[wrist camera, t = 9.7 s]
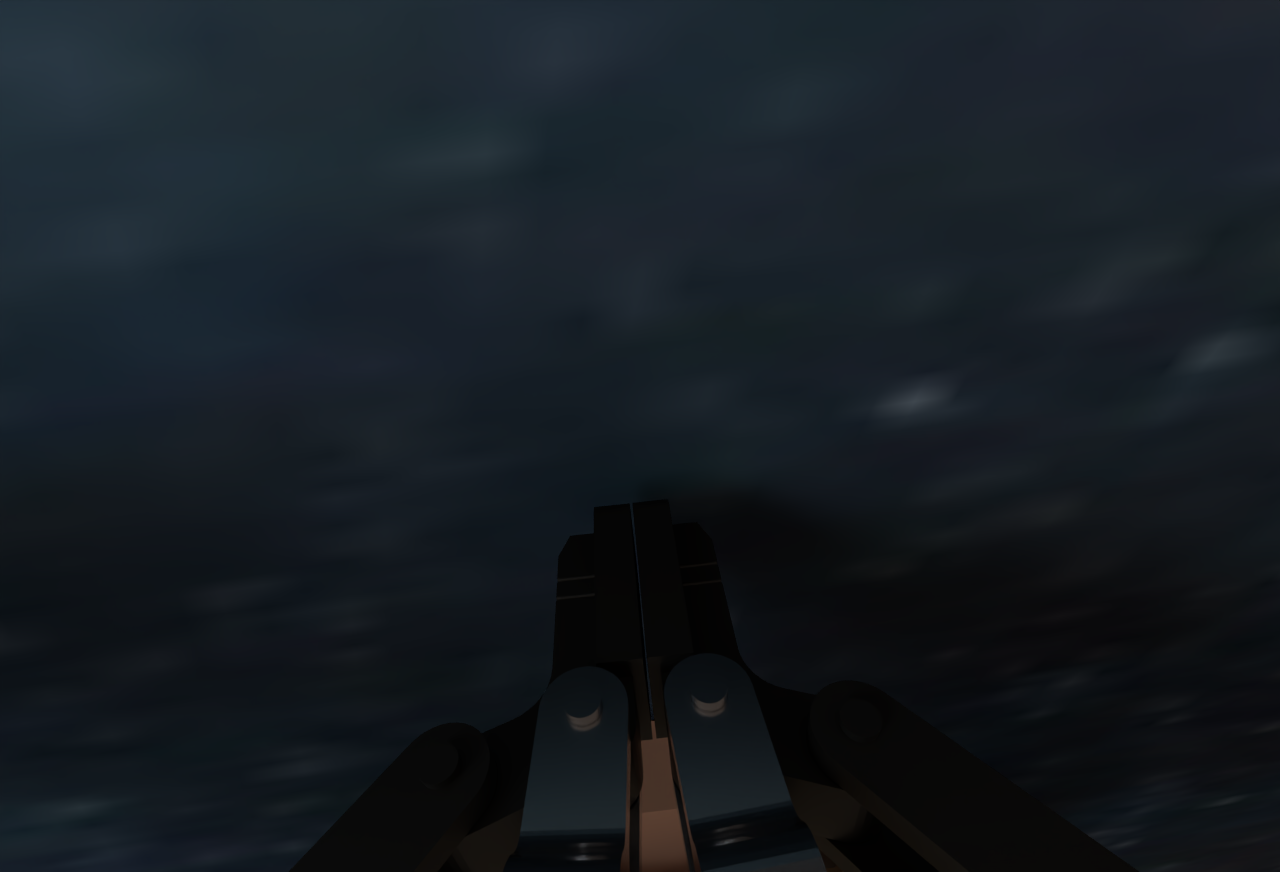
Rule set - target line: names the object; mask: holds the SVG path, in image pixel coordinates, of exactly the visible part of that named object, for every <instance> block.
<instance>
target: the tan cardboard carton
mask: <svg viewBox="0 0 1280 872" xmlns="http://www.w3.org/2000/svg"><path fill="white" fill-rule="evenodd" d="M651 726H652V737H653V739H652V740H643V741H641V748H642V761H643V783H642V872H689V871H688V866H687V861H686V855H685V850H684V844H683V839H682V833H681V828H680V823H679V817H678V812H677V806H676V801H675V796H674V790H673V782H672V772H671V764H670V755H669V746H668V737H667V738H658V739H657V738H656V730H655V721H651Z"/></svg>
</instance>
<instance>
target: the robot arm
mask: <svg viewBox="0 0 1280 872" xmlns="http://www.w3.org/2000/svg"><path fill="white" fill-rule="evenodd" d="M633 513H634V524H635V534H636V545H637V556H638V566H639V577H640V588H641V598H642V609H643V620H644V630H645V641H646V652H647V662H648V670H649V679H650V687H651V696H652V704H653V713H654V721H655V730H656V738H657V739H658V738H667V737H668V746H669V755H670V764H671V772H672V782H673V790H674V796H675V801H676V806H677V812H678V817H679V823H680V828H681V833H682V839H683V844H684V850H685V855H686V861H687V866H688V871H689V872H827V871H826V868H825V866H824V863H823V860H822V857H821V854H820V851H819V849H820V850H821V851H822V852H823V853H824V854H825V855H826V856H827V857H828V858H829V859H831V860H832V861H833V862H834V863H835V864H836V865H837V866H838V867H839V868H840V869H841V870H842V871H843V872H1139V871H1137V870H1136V869H1135V868H1133V867H1132V866H1130V865H1129V864H1127V863H1126V862H1125V861H1123V860H1122V859H1120V858H1119V857H1117V856H1116V855H1115V854H1113V853H1112V852H1110V851H1109V850H1108V849H1106V848H1105V847H1103V846H1102V845H1100V844H1099V843H1098V842H1096V841H1095V840H1093V839H1092V838H1090V837H1089V836H1088V835H1086V834H1085V833H1083V832H1082V831H1081V830H1079V829H1078V828H1076V827H1075V826H1073V825H1072V824H1071V823H1069V822H1068V821H1066V820H1065V819H1063V818H1062V817H1061V816H1059V815H1058V814H1056V813H1055V812H1054V811H1052V810H1051V809H1049V808H1048V807H1046V806H1045V805H1044V804H1042V803H1041V802H1039V801H1038V800H1036V799H1035V798H1034V797H1032V796H1031V795H1029V794H1028V793H1027V792H1025V791H1024V790H1022V789H1021V788H1019V787H1018V786H1017V785H1015V784H1014V783H1012V782H1011V781H1009V780H1008V779H1007V778H1005V777H1004V776H1002V775H1001V774H1000V773H998V772H997V771H995V770H994V769H992V768H991V767H990V766H988V765H987V764H985V763H984V762H982V761H981V760H980V759H978V758H977V757H975V756H974V755H972V754H971V753H970V752H968V751H967V750H965V749H964V748H963V747H961V746H960V745H958V744H957V743H955V742H954V741H953V740H951V739H950V738H948V737H947V736H945V735H944V734H943V733H941V732H940V731H938V730H937V729H936V728H934V727H933V726H931V725H930V724H928V723H927V722H926V721H924V720H923V719H921V718H920V717H918V716H917V715H916V714H914V713H913V712H911V711H910V710H909V709H907V708H906V707H904V706H903V705H901V704H900V703H899V702H897V701H896V700H894V699H893V698H891V697H890V696H889V695H887V694H886V693H884V692H883V691H881V690H879V689H878V688H876V687H874V686H871V685H869V684H866V683H862V682H858V681H839V682H835V683H832V684H829V685H828V686H826V687H824V688H823V689H822V690H821V691H820V692H818V694H817V695H813V694H808V693H803V692H798V691H793V690H789V689H784V688H780V687H777V686H774V685H772V684H770V683H767V682H766V681H764V680H762V679H761V678H759V677H758V676H757V675H755V674H754V673H753V672H752V671H751V670H750V669H749V668H748V667H747V665H746V664H745V663H744V661H743V659H742V657H741V655H740V653H739V650H738V647H737V643H736V638H735V634H734V630H733V626H732V622H731V618H730V613H729V609H728V605H727V601H726V597H725V593H724V588H723V584H722V582H721V576H720V572H719V568H718V565H717V559H716V555H715V551H714V547H713V543H712V539H711V538H710V537H709V536H708V535H707V533H706V532H705V531H704V530H703V529H702V528H701V526H700V525H699V524H698V523H697V522H693V523H684V524H675V525H672V520H671V514H670V508H669V502H668V499H665V500H656V501H646V502H637V503H633ZM557 579H558V583H557V596H556V597H557V601H556V614H555V632H554V651H553V669H552V676H551V679H550V682H549V685H548V687H547V689H546V691H545V692H544V694H543V695H542V697H541V698H540V699H539V700H538V702H537V703H536V704H535V705H534V706H533V707H532V708H530V709H529V710H528V711H527V712H525V713H524V714H522V715H521V716H519V717H517V718H515V719H513V720H511V721H509V722H506V723H504V724H502V725H500V726H497V727H495V728H493V729H491V730H488V731H486V732H484V733H480V732H479V731H478V730H477V729H476V728H474V727H472V726H470V725H467V724H464V723H447V724H443V725H439V726H437V727H434V728H432V729H430V730H428V731H426V732H424V733H423V734H422V735H420V736H419V737H418V738H416V739H415V740H414V741H413V742H412V743H411V744H410V745H409V746H408V747H407V748H406V749H405V750H404V751H403V752H402V753H401V755H400V756H399V757H398V758H397V759H396V760H395V761H394V762H393V763H392V764H391V765H390V766H389V767H388V768H387V769H386V770H385V771H384V772H383V773H382V774H381V775H380V777H379V778H378V779H377V780H376V781H375V782H374V783H373V784H372V785H371V786H370V787H369V788H368V789H367V790H366V791H365V792H364V793H363V794H362V795H361V796H360V798H359V799H358V800H357V801H356V802H355V803H354V804H353V805H352V806H351V807H350V808H349V809H348V810H347V811H346V812H345V813H344V814H343V815H342V816H341V817H340V818H339V820H338V821H337V822H336V823H335V824H334V825H333V826H332V827H331V828H330V829H329V830H328V831H327V832H326V833H325V834H324V835H323V836H322V837H321V838H320V839H319V841H318V842H317V843H316V844H315V845H314V846H313V847H312V848H311V849H310V850H309V851H308V852H307V853H306V854H305V855H304V856H303V857H302V858H301V859H300V860H299V861H298V863H297V864H296V865H295V866H294V867H293V868H292V869H291V870H290V871H289V872H642V783H643V761H642V748H641V741H643V740H652V739H653V737H652V726H651V715H650V704H649V693H648V682H647V671H646V660H645V649H644V638H643V627H642V615H641V604H640V593H639V583H638V573H637V563H636V554H635V546H634V537H633V528H632V520H631V511H630V504H620V505H611V506H601V507H594V533H593V534H584V535H574V536H570V537H569V539H568V541H567V542H566V544H565V546H564V548H563V550H562V551H561V553H560V555H559V559H558V577H557ZM818 848H819V849H818Z"/></svg>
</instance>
